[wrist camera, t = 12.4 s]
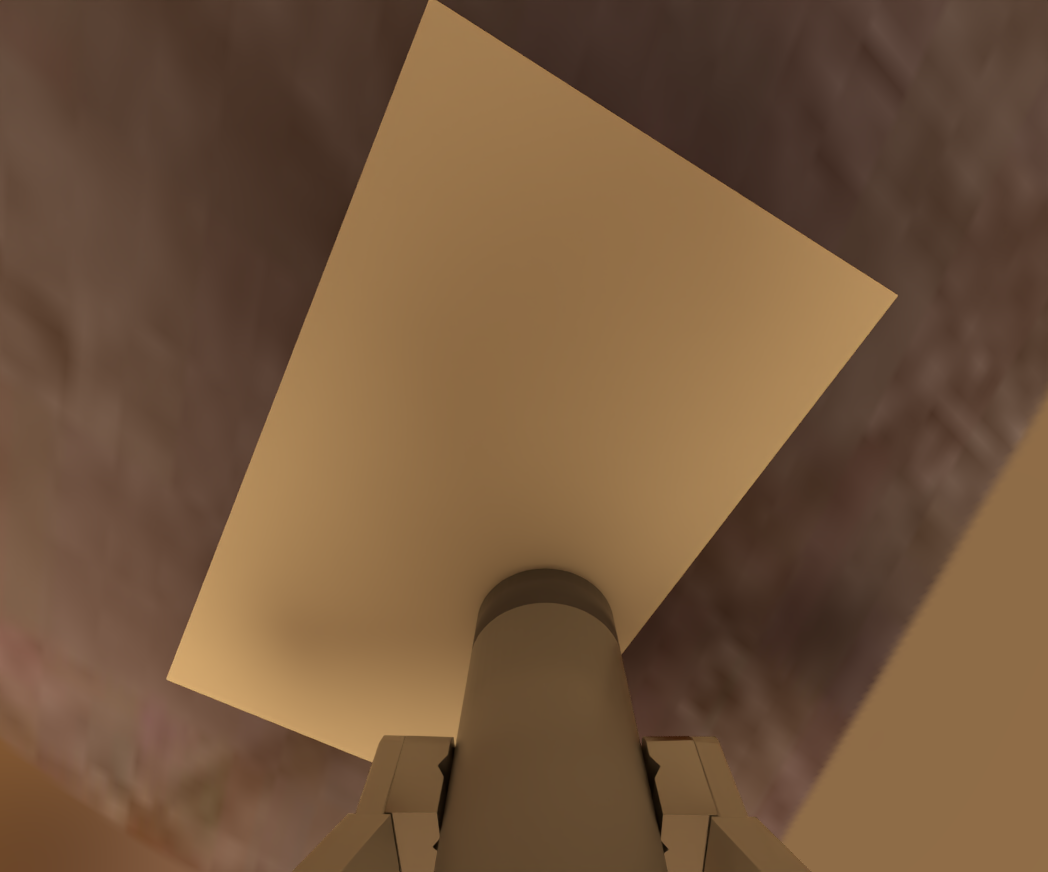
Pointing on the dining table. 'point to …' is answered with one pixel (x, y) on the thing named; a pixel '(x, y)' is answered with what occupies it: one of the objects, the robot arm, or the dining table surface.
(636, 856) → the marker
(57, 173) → the dining table surface
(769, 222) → the paper
